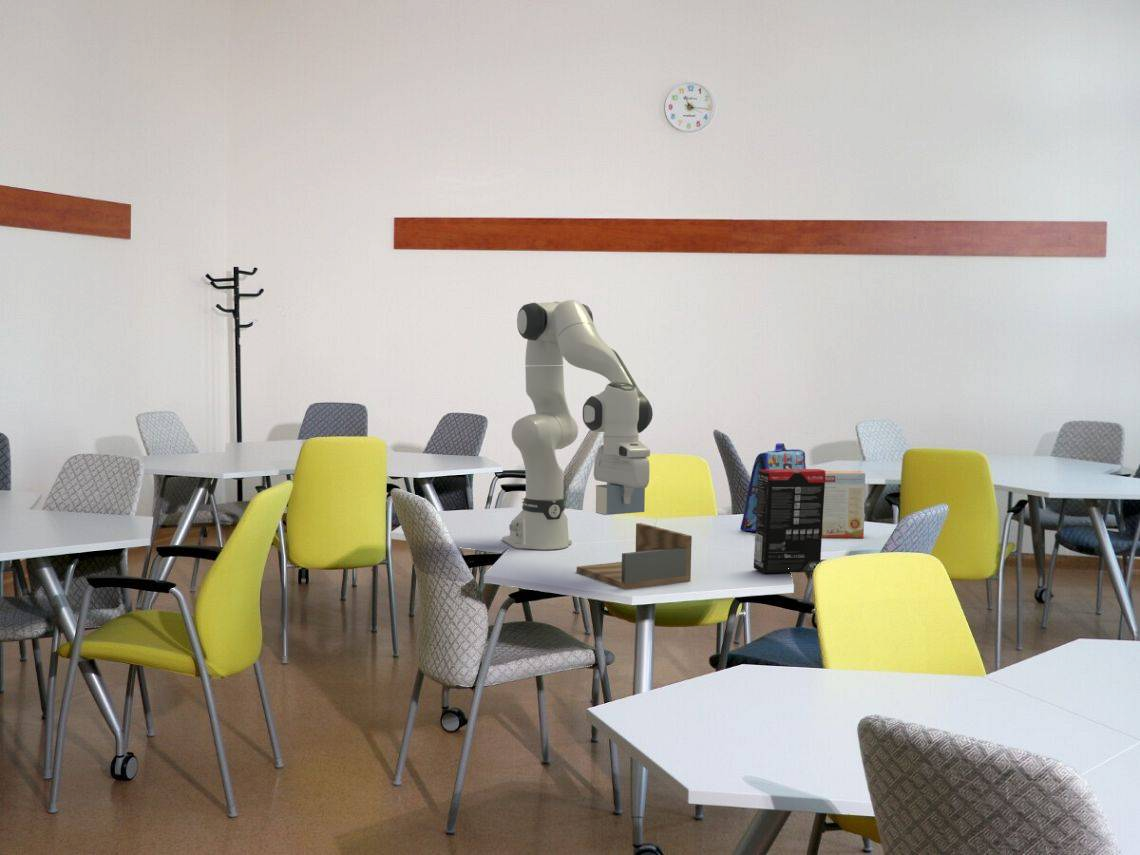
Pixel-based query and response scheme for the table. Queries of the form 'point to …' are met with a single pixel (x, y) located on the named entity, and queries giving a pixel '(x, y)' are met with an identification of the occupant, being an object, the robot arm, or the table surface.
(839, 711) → the table surface
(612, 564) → the shelf
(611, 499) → the grey rectangular box
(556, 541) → the robot arm
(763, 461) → the lunch bag
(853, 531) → the cracker box
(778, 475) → the graphics card box
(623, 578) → the grey thin upright panel
